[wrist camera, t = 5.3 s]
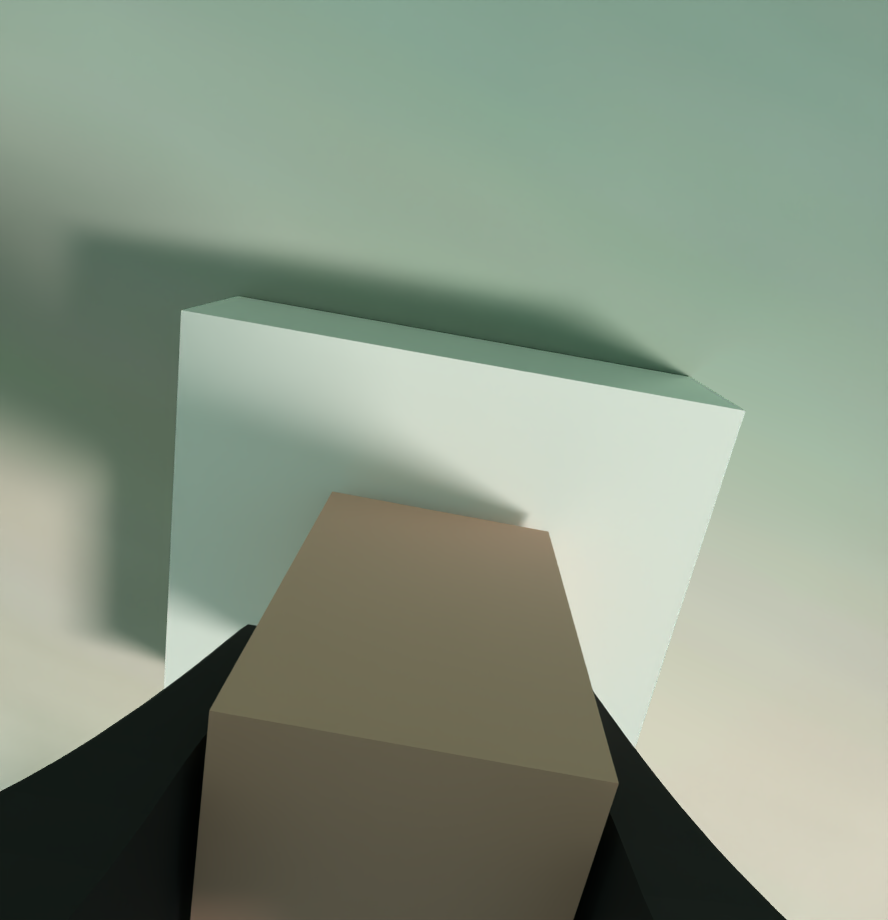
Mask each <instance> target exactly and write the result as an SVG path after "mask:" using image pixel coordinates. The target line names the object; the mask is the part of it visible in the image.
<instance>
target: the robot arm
mask: <svg viewBox="0 0 888 920" xmlns="http://www.w3.org/2000/svg"><path fill="white" fill-rule="evenodd" d="M256 627H257V626H256V625H250V624H247V625H246V626H244V627H243V628H241V629H240V630H239V631H237V632H236V633H235V634H234V635H232V636H231V637H230V638H229V639H227V640H226V641H225V642H224V643H223V644H221V645H220V646H219V647H218V648H216V649H215V650H214V651H213V652H211V653H210V654H209V655H208V656H206V657H205V658H204V659H203V660H201V661H200V662H199V663H198V664H196V665H195V666H194V667H193V668H191V669H190V670H189V671H187V672H186V673H185V674H183V675H182V676H181V677H179V678H178V679H177V680H175V681H174V682H173V683H171V684H170V685H169V686H167V687H166V688H165V689H163V690H162V691H161V692H159V693H158V694H157V695H155V696H154V697H153V698H151V699H150V700H149V701H147V702H146V703H144V704H143V705H142V706H140V707H139V708H137V709H136V710H134V711H133V712H131V713H130V714H128V715H127V716H125V717H124V718H122V719H121V720H119V721H118V722H116V723H115V724H113V725H112V726H110V727H109V728H107V729H106V730H105V731H103V732H102V733H100V734H99V735H97V736H96V737H94V738H93V739H91V740H89V741H88V742H86V743H85V744H83V745H81V746H80V747H78V748H77V749H75V750H73V751H72V752H70V753H68V754H67V755H65V756H63V757H62V758H60V759H58V760H57V761H55V762H53V763H52V764H50V765H48V766H46V767H45V768H43V769H41V770H39V771H37V772H36V773H34V774H32V775H30V776H29V777H27V778H25V779H23V780H21V781H19V782H18V783H16V784H14V785H12V786H10V787H8V788H6V789H4V790H2V791H0V920H190V917H191V906H192V895H193V884H194V873H195V862H196V851H197V840H198V829H199V819H200V808H201V797H202V786H203V775H204V764H205V753H206V742H207V731H208V720H209V710H210V709H211V707H212V705H213V703H214V701H215V700H216V698H217V696H218V694H219V692H220V691H221V689H222V687H223V685H224V684H225V682H226V680H227V678H228V676H229V675H230V673H231V671H232V669H233V668H234V666H235V664H236V662H237V660H238V659H239V657H240V655H241V653H242V651H243V650H244V648H245V646H246V644H247V643H248V641H249V639H250V637H251V635H252V634H253V632H254V630H255V628H256ZM593 693H594V691H593ZM594 696H595V700H596V704H597V707H598V711H599V714H600V718H601V721H602V725H603V729H604V732H605V736H606V739H607V743H608V747H609V750H610V754H611V757H612V761H613V764H614V768H615V772H616V775H617V779H618V782H619V784H618V787H617V790H616V793H615V796H614V799H613V802H612V805H611V808H610V811H609V814H608V817H607V820H606V823H605V826H604V829H603V832H602V835H601V838H600V841H599V844H598V847H597V850H596V853H595V856H594V859H593V862H592V865H591V868H590V871H589V874H588V877H587V880H586V883H585V886H584V889H583V892H582V895H581V898H580V901H579V904H578V907H577V910H576V913H575V916H574V919H573V920H786V919H785V918H784V917H783V916H782V915H781V914H780V913H779V912H778V911H777V910H776V909H775V908H774V907H773V906H772V905H771V904H770V903H769V902H768V901H767V900H766V899H765V898H764V897H763V896H762V895H761V894H760V893H759V892H758V891H757V890H756V889H755V888H754V887H753V886H752V885H751V884H750V883H749V882H748V881H747V880H746V878H745V877H744V876H743V875H742V874H741V873H740V872H739V871H738V870H737V869H736V868H735V867H734V866H733V865H732V864H731V863H730V862H729V861H728V860H727V859H726V858H725V857H724V855H723V854H722V853H721V852H720V851H719V850H718V849H717V848H716V847H715V846H714V845H713V843H712V842H711V841H710V840H709V839H708V838H707V836H706V835H705V834H704V833H703V832H702V831H701V830H700V828H699V827H698V826H697V825H696V824H695V823H694V821H693V820H692V819H691V818H690V817H689V816H688V814H687V813H686V812H685V811H684V810H683V809H682V808H681V806H680V805H679V804H678V803H677V801H676V800H675V799H674V798H673V796H672V795H671V794H670V793H669V792H668V790H667V789H666V788H665V787H664V785H663V784H662V783H661V782H660V780H659V779H658V778H657V777H656V775H655V774H654V773H653V771H652V770H651V769H650V768H649V766H648V765H647V764H646V762H645V761H644V760H643V758H642V757H641V756H640V754H639V753H638V752H637V750H636V749H635V748H634V746H633V745H632V744H631V742H630V741H629V740H628V738H627V737H626V736H625V734H624V733H623V732H622V730H621V729H620V727H619V726H618V725H617V723H616V722H615V721H614V719H613V718H612V716H611V715H610V714H609V712H608V711H607V709H606V708H605V707H604V705H603V704H602V702H601V701H600V700H599V698H598V697H597V696H596V694H595V693H594Z"/></svg>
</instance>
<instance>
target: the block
mask: <svg viewBox="0 0 888 920" xmlns="http://www.w3.org/2000/svg"><path fill="white" fill-rule="evenodd" d="M618 784H619V782H618V779H617V775H616V772H615V768H614V764H613V761H612V757H611V754H610V750H609V747H608V743H607V739H606V736H605V732H604V729H603V725H602V721H601V718H600V714H599V711H598V707H597V704H596V700H595V696H594V693H593V689H592V686H591V682H590V678H589V675H588V671H587V668H586V664H585V661H584V657H583V653H582V650H581V646H580V643H579V639H578V636H577V632H576V628H575V625H574V621H573V618H572V614H571V610H570V607H569V603H568V600H567V596H566V593H565V589H564V585H563V582H562V578H561V575H560V571H559V567H558V564H557V560H556V557H555V553H554V550H553V546H552V542H551V539H550V535H549V532H548V531H542V530H537V529H532V528H526V527H521V526H516V525H510V524H505V523H499V522H494V521H489V520H483V519H478V518H473V517H467V516H462V515H456V514H451V513H446V512H440V511H435V510H430V509H424V508H419V507H413V506H408V505H403V504H397V503H392V502H387V501H381V500H376V499H370V498H365V497H360V496H354V495H349V494H344V493H338V492H333V491H332V493H331V495H330V496H329V498H328V500H327V502H326V504H325V505H324V507H323V509H322V511H321V512H320V514H319V516H318V518H317V520H316V521H315V523H314V525H313V527H312V529H311V530H310V532H309V534H308V536H307V537H306V539H305V541H304V543H303V545H302V546H301V548H300V550H299V552H298V553H297V555H296V557H295V559H294V561H293V562H292V564H291V566H290V568H289V570H288V571H287V573H286V575H285V577H284V578H283V580H282V582H281V584H280V586H279V587H278V589H277V591H276V593H275V594H274V596H273V598H272V600H271V602H270V603H269V605H268V607H267V609H266V611H265V612H264V614H263V616H262V618H261V619H260V621H259V623H258V625H257V627H256V628H255V630H254V632H253V634H252V635H251V637H250V639H249V641H248V643H247V644H246V646H245V648H244V650H243V651H242V653H241V655H240V657H239V659H238V660H237V662H236V664H235V666H234V668H233V669H232V671H231V673H230V675H229V676H228V678H227V680H226V682H225V684H224V685H223V687H222V689H221V691H220V692H219V694H218V696H217V698H216V700H215V701H214V703H213V705H212V707H211V709H210V710H209V720H208V731H207V742H206V753H205V764H204V775H203V786H202V797H201V808H200V819H199V829H198V840H197V851H196V862H195V873H194V884H193V895H192V906H191V917H190V920H573V919H574V916H575V913H576V910H577V907H578V904H579V901H580V898H581V895H582V892H583V889H584V886H585V883H586V880H587V877H588V874H589V871H590V868H591V865H592V862H593V859H594V856H595V853H596V850H597V847H598V844H599V841H600V838H601V835H602V832H603V829H604V826H605V823H606V820H607V817H608V814H609V811H610V808H611V805H612V802H613V799H614V796H615V793H616V790H617V787H618Z"/></svg>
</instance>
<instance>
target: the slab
mask: <svg viewBox="0 0 888 920" xmlns="http://www.w3.org/2000/svg"><path fill="white" fill-rule="evenodd" d="M744 414H745V410H743V409H742V408H740V407H738V406H737V405H735V404H734V403H732V402H730V401H729V400H727V399H726V398H724V397H722V396H721V395H719V394H717V393H716V392H714V391H713V390H711V389H709V388H708V387H706V386H705V385H703V384H701V383H700V382H698V381H697V380H695V379H693V378H692V377H687V376H682V375H676V374H670V373H665V372H659V371H654V370H648V369H643V368H637V367H631V366H626V365H620V364H615V363H609V362H604V361H598V360H592V359H587V358H581V357H576V356H570V355H564V354H559V353H553V352H548V351H542V350H537V349H531V348H525V347H520V346H514V345H509V344H503V343H498V342H492V341H486V340H481V339H475V338H470V337H464V336H458V335H453V334H447V333H442V332H436V331H431V330H425V329H419V328H414V327H408V326H403V325H397V324H392V323H386V322H380V321H375V320H369V319H364V318H358V317H352V316H347V315H341V314H336V313H330V312H325V311H319V310H313V309H308V308H302V307H297V306H291V305H286V304H280V303H274V302H269V301H263V300H258V299H252V298H246V297H241V296H236V297H232V298H228V299H224V300H220V301H216V302H212V303H208V304H204V305H200V306H196V307H192V308H188V309H184V310H181V324H180V346H179V368H178V390H177V412H176V434H175V457H174V479H173V501H172V523H171V545H170V567H169V589H168V611H167V633H166V655H165V677H164V689H165V688H166V687H167V686H169V685H170V684H171V683H173V682H174V681H175V680H177V679H178V678H179V677H181V676H182V675H183V674H185V673H186V672H187V671H189V670H190V669H191V668H193V667H194V666H195V665H196V664H198V663H199V662H200V661H201V660H203V659H204V658H205V657H206V656H208V655H209V654H210V653H211V652H213V651H214V650H215V649H216V648H218V647H219V646H220V645H221V644H223V643H224V642H225V641H226V640H227V639H229V638H230V637H231V636H232V635H234V634H235V633H236V632H237V631H239V630H240V629H241V628H243V627H244V626H246V625H247V624H250V625H256V626H257V625H258V623H259V621H260V619H261V618H262V616H263V614H264V612H265V611H266V609H267V607H268V605H269V603H270V602H271V600H272V598H273V596H274V594H275V593H276V591H277V589H278V587H279V586H280V584H281V582H282V580H283V578H284V577H285V575H286V573H287V571H288V570H289V568H290V566H291V564H292V562H293V561H294V559H295V557H296V555H297V553H298V552H299V550H300V548H301V546H302V545H303V543H304V541H305V539H306V537H307V536H308V534H309V532H310V530H311V529H312V527H313V525H314V523H315V521H316V520H317V518H318V516H319V514H320V512H321V511H322V509H323V507H324V505H325V504H326V502H327V500H328V498H329V496H330V495H331V493H332V491H333V492H338V493H344V494H349V495H354V496H360V497H365V498H370V499H376V500H381V501H387V502H392V503H397V504H403V505H408V506H413V507H419V508H424V509H430V510H435V511H440V512H446V513H451V514H456V515H462V516H467V517H473V518H478V519H483V520H489V521H494V522H499V523H505V524H510V525H516V526H521V527H526V528H532V529H537V530H542V531H548V532H549V535H550V539H551V542H552V546H553V550H554V553H555V557H556V560H557V564H558V567H559V571H560V575H561V578H562V582H563V585H564V589H565V593H566V596H567V600H568V603H569V607H570V610H571V614H572V618H573V621H574V625H575V628H576V632H577V636H578V639H579V643H580V646H581V650H582V653H583V657H584V661H585V664H586V668H587V671H588V675H589V678H590V682H591V686H592V689H593V691H594V693H595V694H596V696H597V697H598V698H599V700H600V701H601V702H602V704H603V705H604V707H605V708H606V709H607V711H608V712H609V714H610V715H611V716H612V718H613V719H614V721H615V722H616V723H617V725H618V726H619V727H620V729H621V730H622V732H623V733H624V734H625V736H626V737H627V738H628V740H629V741H630V742H631V744H632V745H633V746H634V748H635V746H636V743H637V740H638V737H639V734H640V731H641V728H642V725H643V722H644V719H645V716H646V713H647V710H648V707H649V704H650V701H651V698H652V695H653V691H654V688H655V685H656V682H657V679H658V676H659V673H660V670H661V667H662V664H663V661H664V658H665V655H666V652H667V649H668V646H669V643H670V640H671V636H672V633H673V630H674V627H675V624H676V621H677V618H678V615H679V612H680V609H681V606H682V603H683V600H684V597H685V594H686V591H687V588H688V585H689V582H690V578H691V575H692V572H693V569H694V566H695V563H696V560H697V557H698V554H699V551H700V548H701V545H702V542H703V539H704V536H705V533H706V530H707V527H708V524H709V520H710V517H711V514H712V511H713V508H714V505H715V502H716V499H717V496H718V493H719V490H720V487H721V484H722V481H723V478H724V475H725V472H726V469H727V465H728V462H729V459H730V456H731V453H732V450H733V447H734V444H735V441H736V438H737V435H738V432H739V429H740V426H741V423H742V420H743V417H744Z"/></svg>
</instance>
